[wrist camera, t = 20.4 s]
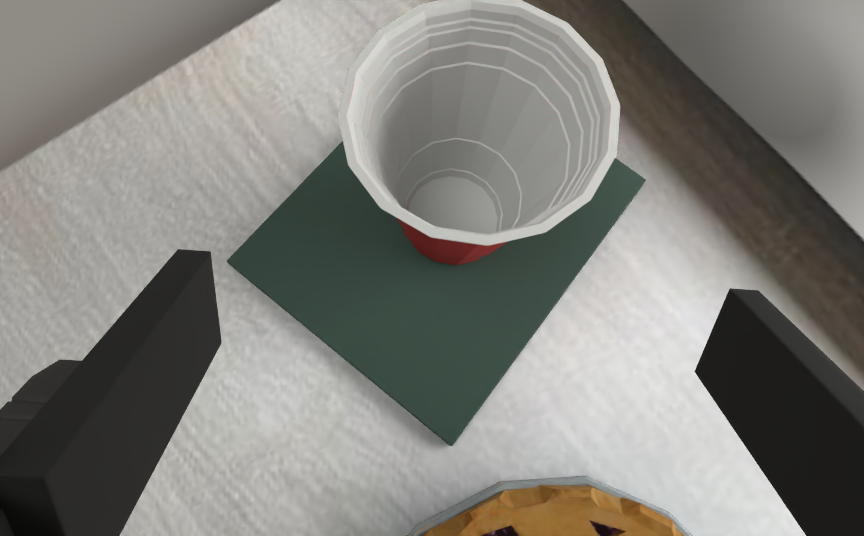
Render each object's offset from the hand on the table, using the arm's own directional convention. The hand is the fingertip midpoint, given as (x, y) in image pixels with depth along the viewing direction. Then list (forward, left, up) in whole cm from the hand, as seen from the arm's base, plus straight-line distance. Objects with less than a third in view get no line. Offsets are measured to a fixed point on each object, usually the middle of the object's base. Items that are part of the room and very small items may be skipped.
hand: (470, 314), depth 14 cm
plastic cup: (-5, +8, -16) cm, 18 cm away
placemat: (-5, +8, -17) cm, 19 cm away
